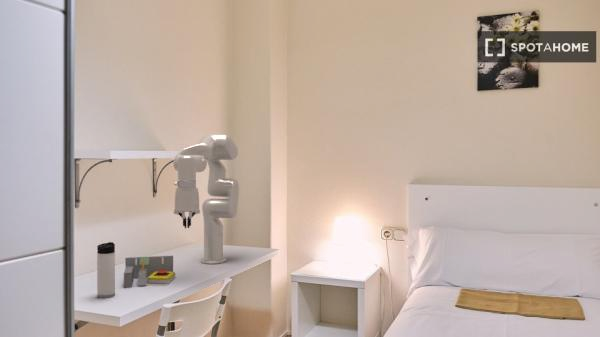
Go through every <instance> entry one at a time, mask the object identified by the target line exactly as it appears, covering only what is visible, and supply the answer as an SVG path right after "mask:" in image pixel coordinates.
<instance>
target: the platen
mask: <svg viewBox="0 0 600 337" xmlns="http://www.w3.org/2000/svg"><path fill="white" fill-rule="evenodd" d="M137 279H138V280H137V281H138V282H137V283H138V287H139V286H141V287H142V286H143V287H144V286H146V284H147V268H144V261H142V268H140V269H139V274H138V278H137Z"/></svg>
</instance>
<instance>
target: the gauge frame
mask: <svg viewBox="0 0 600 337" xmlns="http://www.w3.org/2000/svg"><path fill="white" fill-rule="evenodd" d="M124 260H125V268H124V272H123V288H124V289H125V288H132V287H133V284H134V280H135V279H138V274H139V269H140V268H142V261H144V268H147V278H148V277H149V276H150V275H151V274H153V273H154V272H156V271H167V272H174V255H157V256H156V255H155V256H154V255H152V256H134V257H133V256H132V257H125V259H124Z"/></svg>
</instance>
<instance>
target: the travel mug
mask: <svg viewBox="0 0 600 337" xmlns="http://www.w3.org/2000/svg"><path fill="white" fill-rule="evenodd" d="M96 247H97V251H96V253H97V254H96V255H97V256H96V257H97V259H96V261H97V263H96V264H97V271H96V274H97V276H96V277H97V279H96V280H97V282H96V283H97V287H96V288H97V289H96V290H97V293H96V294H97V298H101V299H106V298H108V299H109V298H112V297H114V296H115V295H116V251H115V250H116V245H115V243H114V242H112V241H109V242H106V243H101V244H98V245H97V246H96Z"/></svg>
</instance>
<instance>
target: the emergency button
mask: <svg viewBox="0 0 600 337" xmlns="http://www.w3.org/2000/svg"><path fill="white" fill-rule="evenodd" d="M176 278H177V276H176V271H173V272H167V271H156V272H154V273H153V274H151V275H150V276H149V277H148V278H147V283H146V285H145V286H147V287H151V286H152V287H166V286H168V285H170V284H171V283H172V282H173V281H174V280H175V279H176Z"/></svg>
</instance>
